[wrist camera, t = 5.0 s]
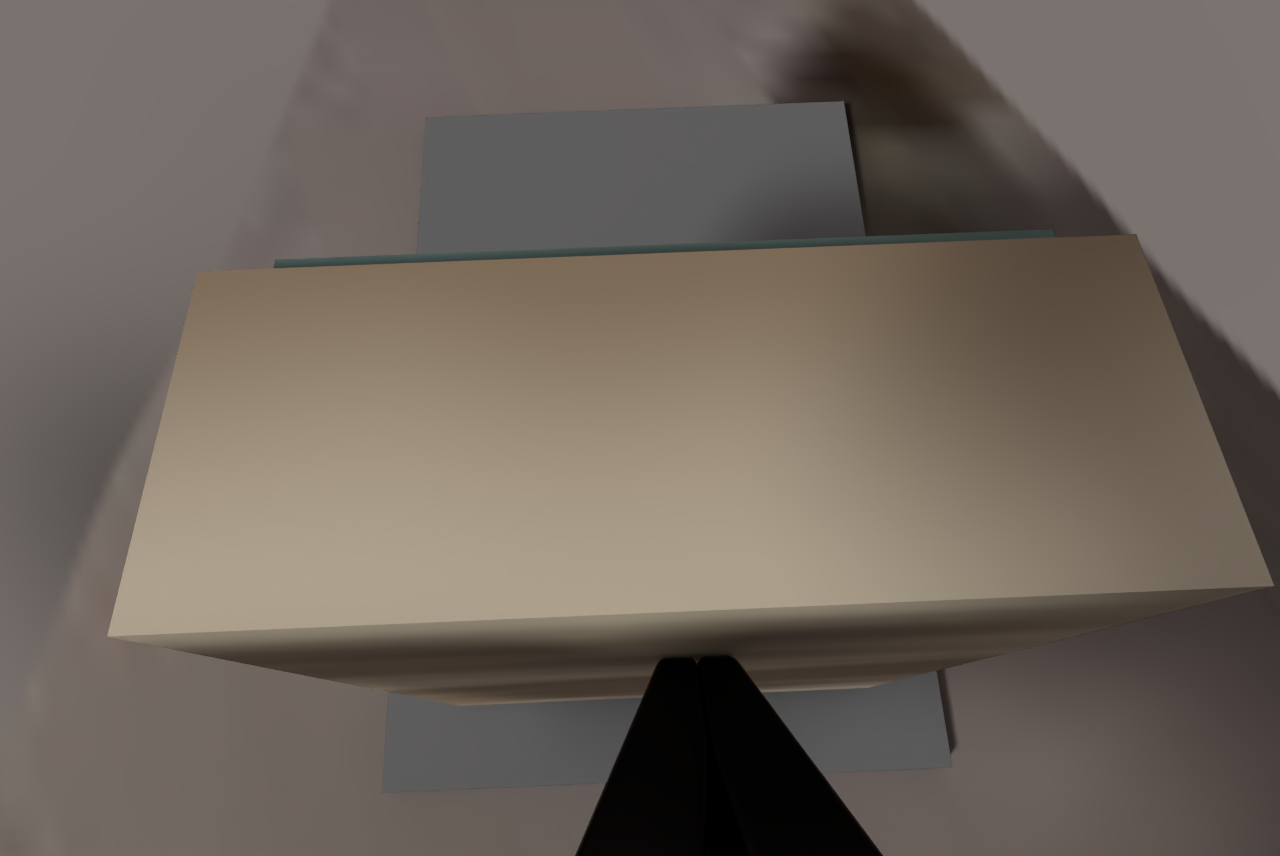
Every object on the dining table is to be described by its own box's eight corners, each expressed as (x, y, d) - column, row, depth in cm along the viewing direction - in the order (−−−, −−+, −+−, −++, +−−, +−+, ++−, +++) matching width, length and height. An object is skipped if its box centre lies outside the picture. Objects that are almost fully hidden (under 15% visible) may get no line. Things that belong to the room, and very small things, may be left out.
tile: (867, 687, 14) (1275, 586, 5) (459, 705, 14) (106, 636, 5) (841, 520, 15) (1121, 196, 6) (469, 536, 15) (206, 233, 6)
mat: (944, 764, 14) (952, 767, 14) (389, 789, 14) (382, 792, 14) (839, 112, 19) (843, 101, 19) (430, 128, 19) (425, 117, 19)
